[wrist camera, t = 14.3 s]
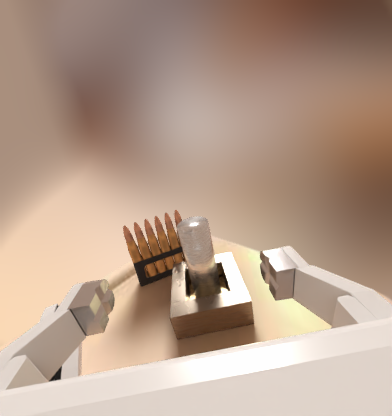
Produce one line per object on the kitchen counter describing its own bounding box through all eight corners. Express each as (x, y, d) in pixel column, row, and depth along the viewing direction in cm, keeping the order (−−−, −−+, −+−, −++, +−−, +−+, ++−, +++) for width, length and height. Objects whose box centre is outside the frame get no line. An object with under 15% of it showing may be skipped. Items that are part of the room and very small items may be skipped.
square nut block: (177, 339, 24) (169, 318, 22) (178, 281, 33) (172, 263, 32) (253, 323, 24) (251, 300, 22) (233, 270, 33) (230, 251, 32)
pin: (196, 307, 26) (176, 235, 22) (194, 286, 30) (176, 220, 25) (224, 301, 26) (210, 228, 22) (218, 280, 30) (205, 214, 25)
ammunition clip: (140, 286, 34) (117, 229, 29) (140, 280, 35) (118, 225, 31) (195, 265, 36) (182, 209, 32) (192, 260, 38) (179, 206, 33)
